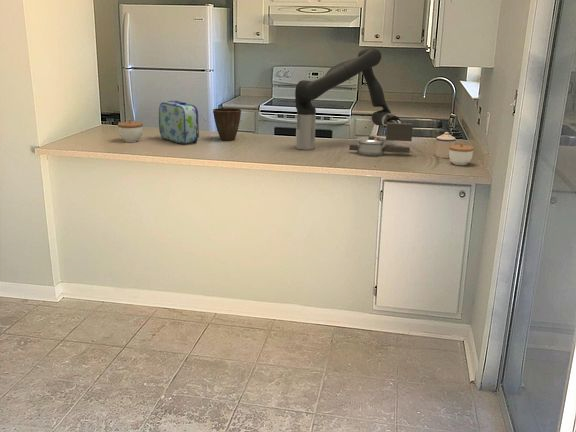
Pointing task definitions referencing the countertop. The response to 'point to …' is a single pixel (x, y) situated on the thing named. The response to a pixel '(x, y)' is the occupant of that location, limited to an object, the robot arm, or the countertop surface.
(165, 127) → the lunch box
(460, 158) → the lidded jar
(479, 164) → the countertop surface
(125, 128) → the lidded bowl
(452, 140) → the beige canister
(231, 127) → the plant pot
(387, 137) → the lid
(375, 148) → the pot
